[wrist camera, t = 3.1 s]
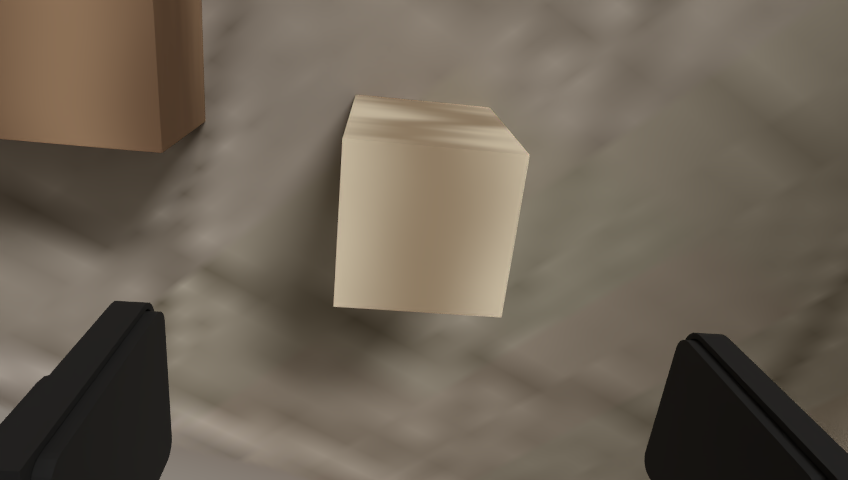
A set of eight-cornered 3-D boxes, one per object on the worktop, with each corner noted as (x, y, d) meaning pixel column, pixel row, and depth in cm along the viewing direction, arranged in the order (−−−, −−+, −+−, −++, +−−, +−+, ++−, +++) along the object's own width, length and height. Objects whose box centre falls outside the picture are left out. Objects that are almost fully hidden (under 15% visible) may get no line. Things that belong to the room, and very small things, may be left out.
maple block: (489, 107, 23) (529, 155, 16) (471, 230, 25) (501, 317, 18) (355, 94, 22) (342, 138, 16) (348, 221, 24) (333, 306, 18)
